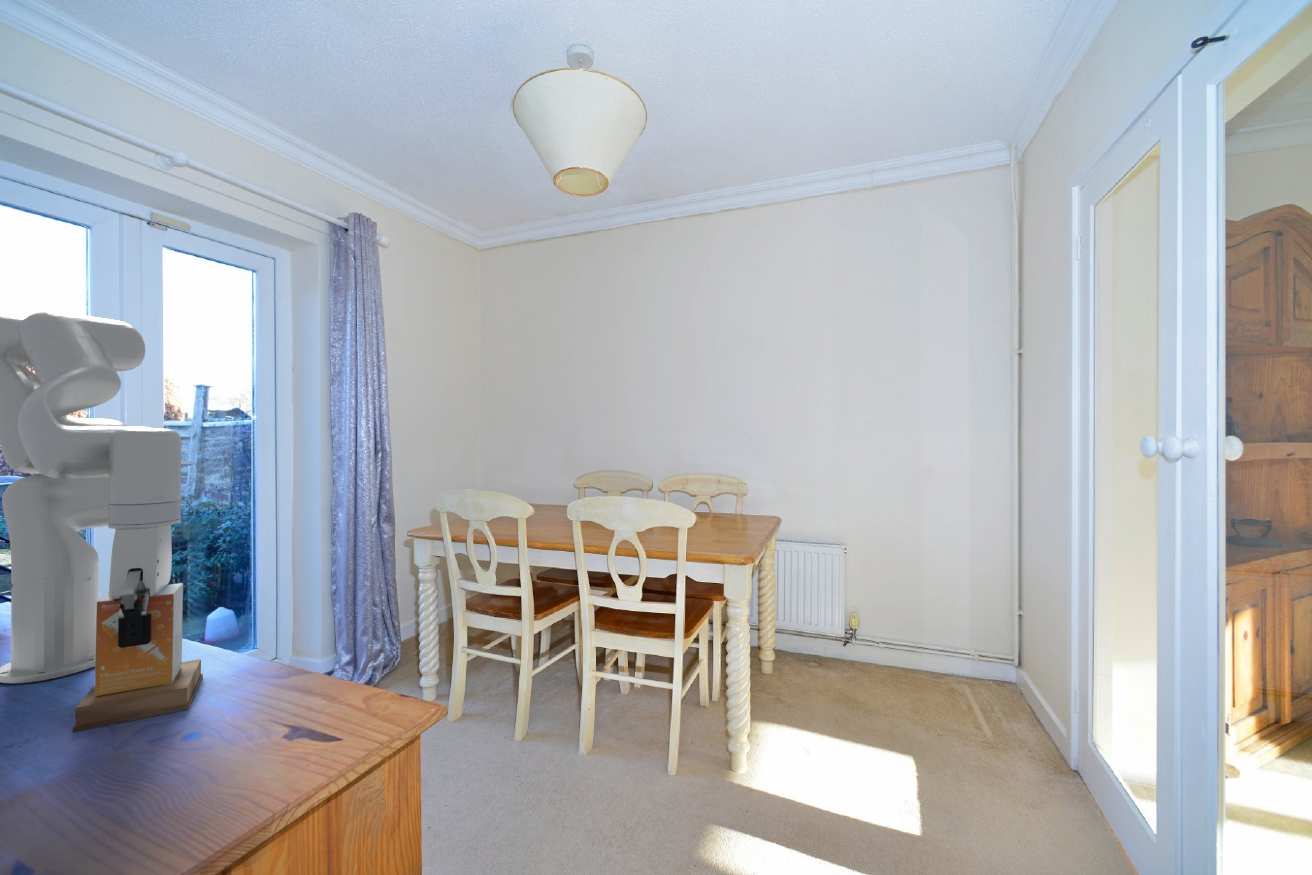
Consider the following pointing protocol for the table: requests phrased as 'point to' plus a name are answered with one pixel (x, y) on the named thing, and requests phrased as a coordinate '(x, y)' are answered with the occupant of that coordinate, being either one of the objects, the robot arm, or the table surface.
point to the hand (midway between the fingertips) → (144, 633)
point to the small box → (142, 661)
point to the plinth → (139, 700)
